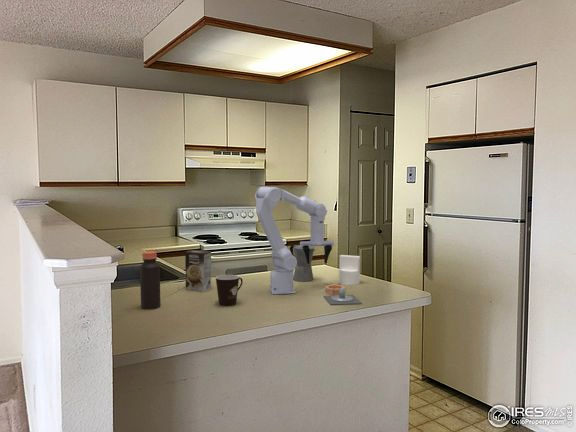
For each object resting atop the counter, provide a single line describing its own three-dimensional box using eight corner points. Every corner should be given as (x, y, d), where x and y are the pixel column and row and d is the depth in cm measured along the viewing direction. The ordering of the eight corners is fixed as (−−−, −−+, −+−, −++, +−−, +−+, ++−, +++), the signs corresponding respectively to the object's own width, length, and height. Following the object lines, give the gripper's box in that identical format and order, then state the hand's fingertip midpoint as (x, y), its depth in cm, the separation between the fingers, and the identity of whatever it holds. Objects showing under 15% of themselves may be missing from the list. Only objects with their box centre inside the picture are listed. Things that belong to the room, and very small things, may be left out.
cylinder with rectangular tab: (336, 283, 202) (337, 257, 201) (342, 279, 210) (342, 253, 209) (356, 285, 199) (357, 258, 198) (361, 281, 207) (362, 255, 206)
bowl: (328, 295, 182) (328, 289, 182) (323, 291, 189) (323, 285, 189) (346, 295, 183) (346, 288, 183) (341, 290, 190) (341, 284, 190)
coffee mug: (220, 308, 164) (220, 280, 164) (212, 302, 172) (212, 276, 171) (250, 304, 170) (250, 277, 169) (241, 298, 177) (241, 273, 176)
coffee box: (184, 289, 190) (184, 251, 189) (193, 286, 196) (193, 249, 195) (203, 292, 187) (203, 253, 186) (212, 288, 193) (211, 250, 191)
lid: (334, 302, 170) (334, 291, 170) (328, 296, 179) (328, 286, 178) (355, 301, 172) (356, 291, 171) (349, 296, 180) (349, 285, 180)
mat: (330, 305, 168) (330, 304, 168) (323, 296, 180) (323, 295, 180) (362, 304, 170) (362, 303, 170) (352, 295, 182) (352, 294, 182)
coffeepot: (321, 280, 208) (321, 241, 206) (306, 283, 202) (307, 243, 200) (296, 275, 219) (297, 237, 217) (282, 278, 213) (282, 239, 211)
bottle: (138, 306, 166) (136, 251, 164) (156, 303, 170) (155, 250, 169) (144, 310, 161) (143, 254, 159) (163, 307, 165) (162, 252, 163)
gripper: (302, 232, 190) (301, 265, 191) (336, 232, 192) (335, 264, 193) (299, 230, 197) (298, 262, 198) (332, 230, 199) (331, 261, 200)
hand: (316, 262), depth 196 cm, fingers open, 7 cm apart
